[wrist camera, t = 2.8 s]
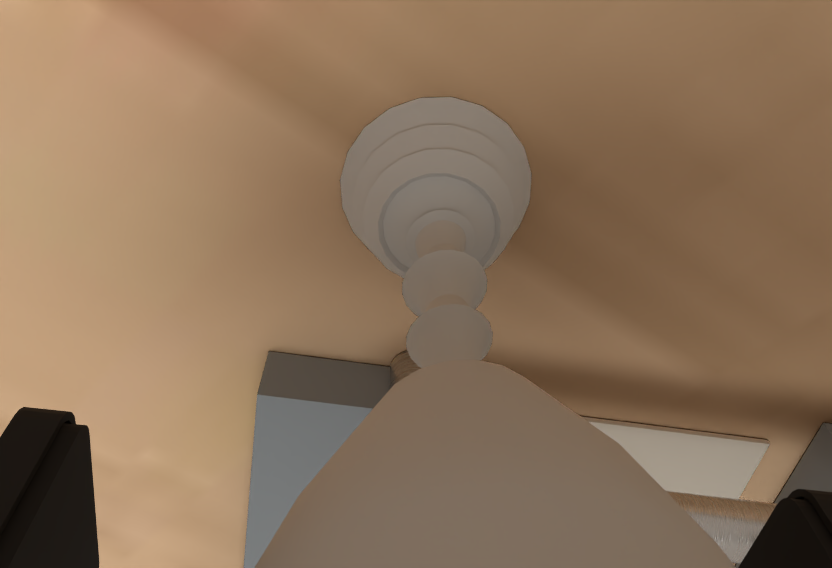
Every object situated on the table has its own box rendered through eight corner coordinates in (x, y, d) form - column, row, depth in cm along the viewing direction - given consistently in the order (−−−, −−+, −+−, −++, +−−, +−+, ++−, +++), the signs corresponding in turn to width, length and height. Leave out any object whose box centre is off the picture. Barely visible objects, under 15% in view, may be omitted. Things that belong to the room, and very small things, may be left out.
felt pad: (767, 440, 24) (769, 443, 24) (672, 607, 29) (673, 611, 29) (503, 406, 23) (503, 410, 23) (448, 584, 28) (448, 589, 28)
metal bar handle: (900, 413, 24) (1032, 565, 19) (876, 448, 24) (995, 604, 20) (394, 346, 22) (391, 494, 17) (386, 386, 23) (381, 539, 18)
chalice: (430, 343, 22) (493, 1521, 7) (248, 202, 19) (-336, 1574, 4) (625, 179, 19) (1496, 1530, 4) (442, -10, 17) (867, 1696, 1)
